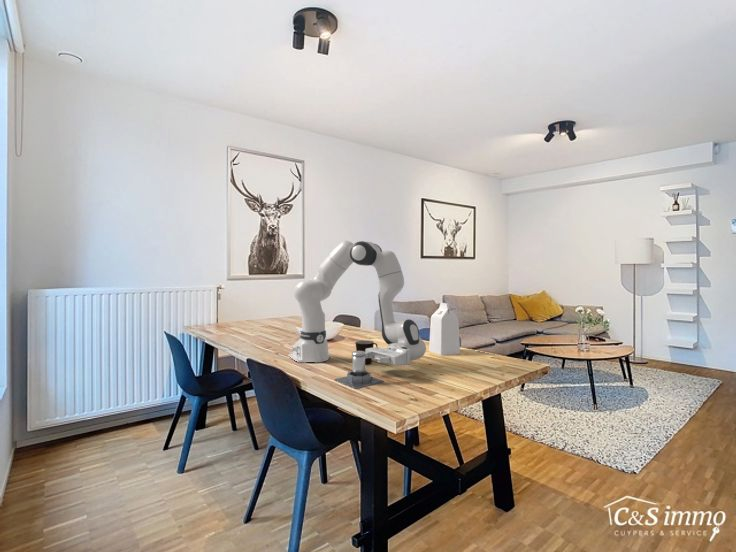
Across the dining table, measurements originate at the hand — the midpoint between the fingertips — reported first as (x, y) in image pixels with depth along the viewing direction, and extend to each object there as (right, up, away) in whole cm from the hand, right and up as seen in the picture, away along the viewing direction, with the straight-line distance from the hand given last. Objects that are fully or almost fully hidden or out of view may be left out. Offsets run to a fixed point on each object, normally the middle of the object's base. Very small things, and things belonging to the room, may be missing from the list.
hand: (370, 358), depth 158 cm
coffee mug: (-1, -8, +25) cm, 26 cm away
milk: (+39, -7, +48) cm, 63 cm away
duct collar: (-5, -8, -4) cm, 10 cm away
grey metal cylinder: (-5, -8, -4) cm, 10 cm away
